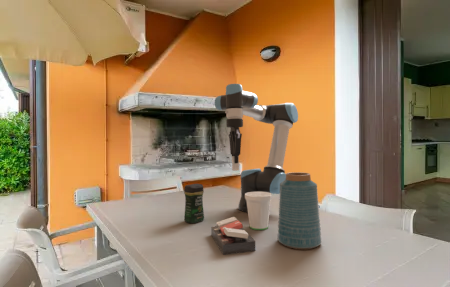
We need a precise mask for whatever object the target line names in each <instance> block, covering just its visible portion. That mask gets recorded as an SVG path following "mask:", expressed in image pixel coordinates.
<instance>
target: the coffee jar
mask: <svg viewBox="0 0 450 287" xmlns="http://www.w3.org/2000/svg"><path fill="white" fill-rule="evenodd" d="M204 191H205V190H204V185H203V184H201V183H192V184H191V183H190V184H187V185H186V184H185V186H184V190H183V192H184V193H183V194H184V197H185V205H184V206H185V207H184V222H186V223H188V224H189V223H190V224H196V223H199V222H202V221H204V220H205V212H204V204H203V195H204V193H205V192H204Z"/></svg>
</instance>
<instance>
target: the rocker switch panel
mask: <svg viewBox="0 0 450 287" xmlns="http://www.w3.org/2000/svg"><path fill="white" fill-rule="evenodd" d="M210 229H211V230H210V232H211V237H212V239H213V240H214V241H215V244H216V245H217V247H218V249H219V251H220V252H221V254H222V255H223V256H226V255H231V254H240V253H249V252H255V251H256V240H254V238H253V237H251V235H250V234H249V233H248V238H240V237H232V236H227V235H223V233H222V232H221V230H220V229H219V228H218V226H217V225H216V226H211V227H210ZM239 230H245V229H244V227H243V228H240V229H239Z"/></svg>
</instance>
